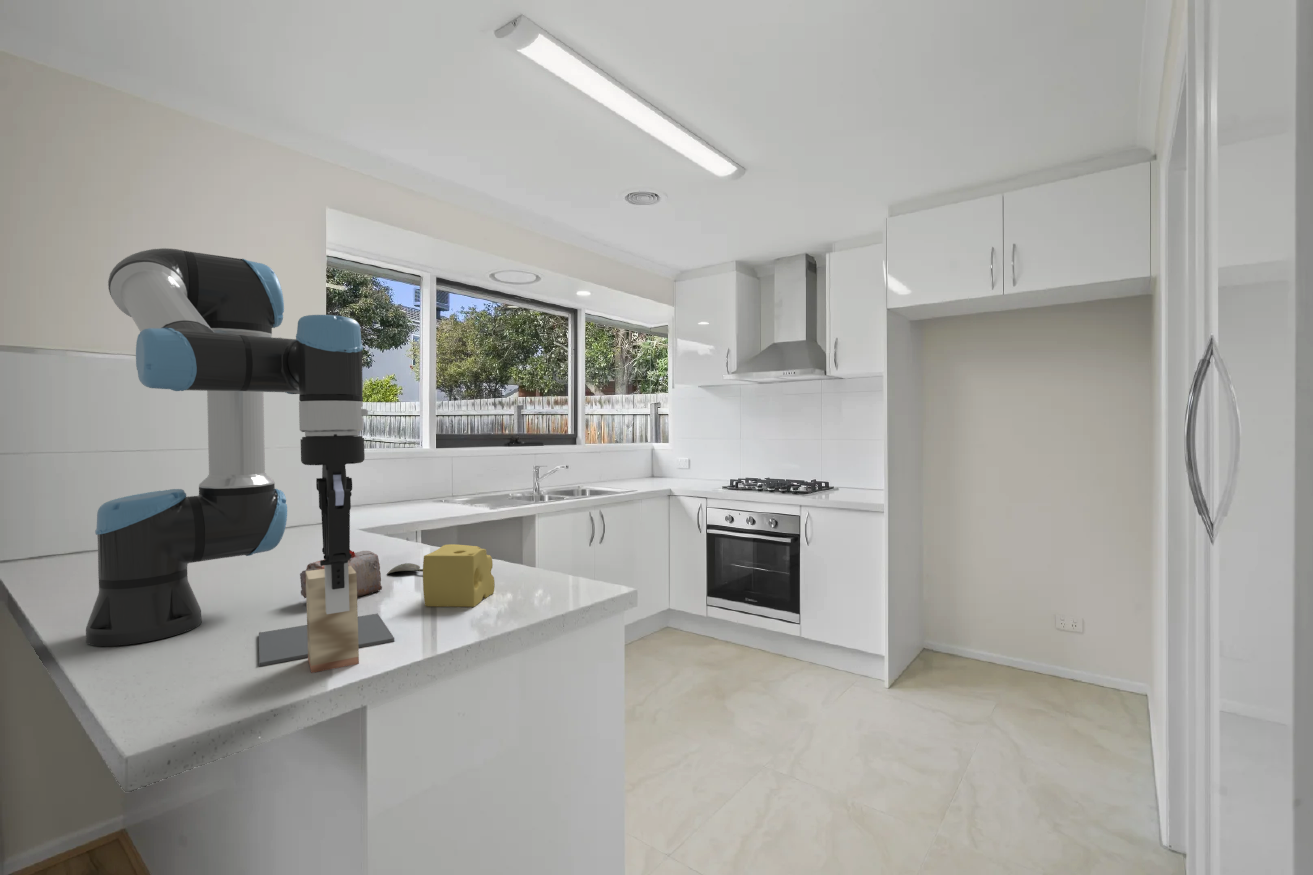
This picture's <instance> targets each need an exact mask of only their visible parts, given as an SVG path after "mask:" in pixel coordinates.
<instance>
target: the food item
mask: <svg viewBox="0 0 1313 875" xmlns="http://www.w3.org/2000/svg"><path fill="white" fill-rule="evenodd" d="M350 553H351V555H352V558H351V559H350V560H348V566H352V568H353V569H354V570H355V572H356V575H357V598H358V597H363V596H367V595H369V594H374V593H378V592H379V591H381V590H382V588H383V586H382V585H381V581H382V578H381V577H382V576H381V566H380V565H381V564H380V560H379V559H380V558H379V555H378V554H377V553H375V552H374V551H373V552H372V551H370V550H362V551H357V552H355V551H353V550H351V549H350ZM323 560H325V559H324V558H323ZM319 569H325V568H324V566H321V565H320V560H317V561H313V562H309V563H308V564H306V568H305V570H302V571H301V572H300V573H299V579H300V588H301V590H300V596H302V597H303V598H304V599H306V571H311V570H319Z"/></svg>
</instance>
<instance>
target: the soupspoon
mask: <svg viewBox="0 0 1313 875" xmlns="http://www.w3.org/2000/svg"><path fill="white" fill-rule="evenodd" d="M404 571H405V572H423V568H421V566H420V565H419V564H415V563H410V562H409V563H407V562H406V563H401V564H398V565H396V566H394V567H393V568H391V569H390V570H389V571H388V572H387V573H386V575H389V574H392V573H395V572H404Z"/></svg>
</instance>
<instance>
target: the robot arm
mask: <svg viewBox="0 0 1313 875" xmlns="http://www.w3.org/2000/svg"><path fill="white" fill-rule="evenodd" d="M107 281H108V282H107V283H108V284H107V286H108V293H109V295H110V297H111V300H113V303H114V305H115V306H117V308H118V309H119V311H121V312H122V313H124V315H126V316H129V317H130V318H131V319H132V320H133V322H134V323H135V325H136V327H137V329H138V331H139V334H138V335H137V338H136V342H135V343H136V345H135V346H136V347H135V366H136V370H137V376H138V380H139V382H140V383H141V385H143V386H144V387H146V388H148V389H156V390H157V389H158V390H160V389H161V390H171V391H173V392H180V391H181V392H184V391H197V392H198V391H200V392H201V391H203V392H204V391H206V396H207V398H206V402H207V406H206V407H207V441H208V442H207V445H208V448H207V449H208V474H207V477H206V478H205V479H203V480H202V481H201V482H200V483H199V484H198V495H191V496H187V493H186V492H185V490H184V489H182V488H172V489H165V490H154V491H149V492H142V493H137V494H132V495H128V496H124V497H123V496H122V497H118V498H115V499H111V500H109V501H106V502H104V503H103V504H101V505H100V506H99V507H98V510H97V511H96V512H97V513H96V529H95V531H94V532H95V535H97V570H98V577H97V578H98V593H97V597H96V599H95V601H94V602H95V603H94V605H93V608H92V610H91V613H90V616H89V618H88V621H87V624H86V626H85V642H86V643H87V644H88V645H91V646H97V647H113V646H114V647H116V646H126V645H135V644H142V643H147V642H153V641H157V640H161V639H166V638H170V637H174V636H177V635H181V634H182V633H183V634H184V633H186V632H188V631H191V630H193V629H195V628H197V627H199V626H200V625H201V624H202V609H201V606H200V604H199V602H198V600H197V597H196V594H195V593H194V591H193V589H192V587H191V584H190V582H189V577H188V564H191V563H199V562H207V561H212V560H219V559H225V558H233V557H234V558H235V557H241V556H246V557H249V556H253V555H254V554H259V553H260V554H261V553H265V552H270V551H272V550H273V549H276V547H277V546H278V545H279V544H280V542H281V540H282V539H283V536H284V533H285V531H286V526H287V521H288V504H287V498H286V495H285V493H284V491H282V490H281V489H278V488H276V487H275V484H276V483H275V480H274V479H272V477H270V476H269V475H267V473H266V466H265V465H266V464H265V463H266V462H265V460H266V459H265V407H264V405H265V404H264V393H286V394H289V395H299V397H298V398H299V401H298V414H299V416H298V418H299V419H298V420H299V421H298V422H299V424H298V425H299V431H300V432H301V433H304V436H302V437H301V439H300V462H301V464H303V465H305V466H322V468H321V470H322V471H321V472H322V473H321V477H317V478H316V490H317V491H318V508H319V510H320V511H321V512H320V513H321V531H322V548H321V551H322V554H323V559H320V560H319V561H320V565H321V566H324V568H325V604H326V614H332V613H339V612H345V611H350V610H349V573H348V560H350V559H351V558H352V555H351V553H350V550H351V549H350V548H351V544H350V542H351V541H350V540H351V537H350V536H351V533H350V532H351V530H350V529H351V527H350V526H351V521H350V520H351V516H350V515H351V509H352V506H351V505H352V504H351V497H352V496H353V495H352V494H353V493H352V490H353V478H352V477H350V476H347V469H346V465H351V464H352V465H355V464H356V465H357V464H361V463H362V462H364V461H365V458H366V457H365V437H363V435H359V432H363V430H364V418H363V417H365V416H368V415H369V410H368V409H367V408H362V407H363V404H364V403H363V400H364V398H363V396H364V395H363V384H364V383H363V350H364V345H363V344H362V333H361V325H360V324H359V322H358V321H357V320H355V319H353V318H351V317H348V316H347V317H346V316H341V315H336V314H335V315H333V314H308V315H303V316H302V317H300V318H299V319H298V321H297V327H296V335H295V338H294V339H293V338H284V337H282V338H281V337H273V329H275V328H278V327H280V326H281V325H282V323H283V319H284V312H285V300H284V294H283V291H282V290H283V289H282V286H281V283H280V280H279V278H278V276H277V274H276V273H275V271H274V270H273V269H272V268H271V267H270V266H268V264H267V265H266V264H265V263H262V262H257V261H252V260H247V259H245V258H237V257H236V258H235V257H230V256H221V255H215V254H209V253H208V254H207V253H202V252H195V251H190V250H189V251H187V250H182V249H178V248H166V247H163V248H162V247H161V248H152V249H147V250H141V251H139V252H136V253H132V254H130V255H128V256H126V257H124V258H123V259H122V260H121V261H119V262H118V263H117V264H116V265H115V266H114V267H113V268H112V269H111V271H110V273H109V277H108V280H107ZM324 559H325V560H324Z"/></svg>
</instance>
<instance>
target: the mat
mask: <svg viewBox="0 0 1313 875" xmlns="http://www.w3.org/2000/svg"><path fill="white" fill-rule="evenodd" d="M392 642H395V636H393V634H392V632H391V631H390V630H389V628H388V626H387V625H386V623H385V622H384V621H383V619H382V618H381V616H380V614H379V613H371V614H366V615H359V616H358V647H359V649H360V648H367V647H371V646H376V645H381V644H387V643H392ZM258 650H259V651H258V654H259V655H258V656H259V667H265V666H269V665H274V664H279V663H285V662H290V661H296V660H301V659H302V660H303V659H308V637H307V624H305V625H299V626H291V627H284V628H279V629H273V630H267V631H261V632H258Z"/></svg>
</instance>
